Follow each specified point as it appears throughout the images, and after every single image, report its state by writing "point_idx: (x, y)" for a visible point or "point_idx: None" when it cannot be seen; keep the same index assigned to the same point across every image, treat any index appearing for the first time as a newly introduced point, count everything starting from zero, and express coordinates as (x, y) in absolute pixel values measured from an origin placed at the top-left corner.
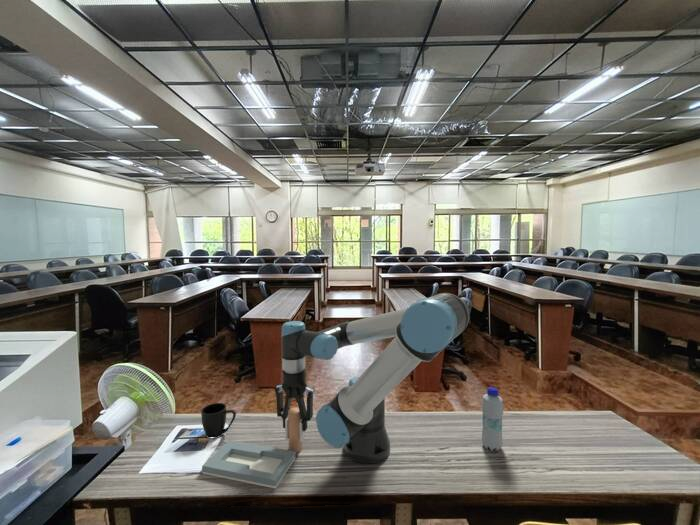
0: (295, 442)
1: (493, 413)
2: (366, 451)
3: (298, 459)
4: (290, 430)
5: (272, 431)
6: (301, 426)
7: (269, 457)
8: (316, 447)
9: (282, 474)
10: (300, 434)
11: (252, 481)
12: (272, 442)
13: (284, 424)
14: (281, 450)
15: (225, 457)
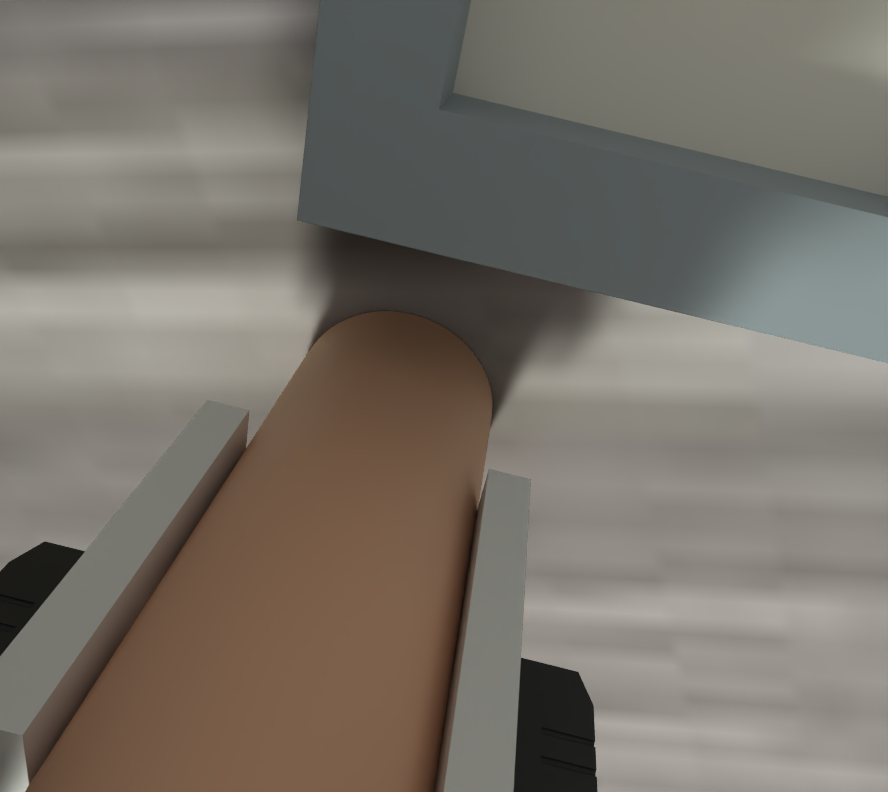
0: (320, 393)
1: None
2: None
3: (280, 165)
4: (367, 566)
5: (795, 734)
6: (34, 621)
7: (782, 164)
8: (120, 422)
9: None
10: (169, 489)
11: None
12: (769, 543)
13: (550, 744)
14: (564, 240)
15: None
